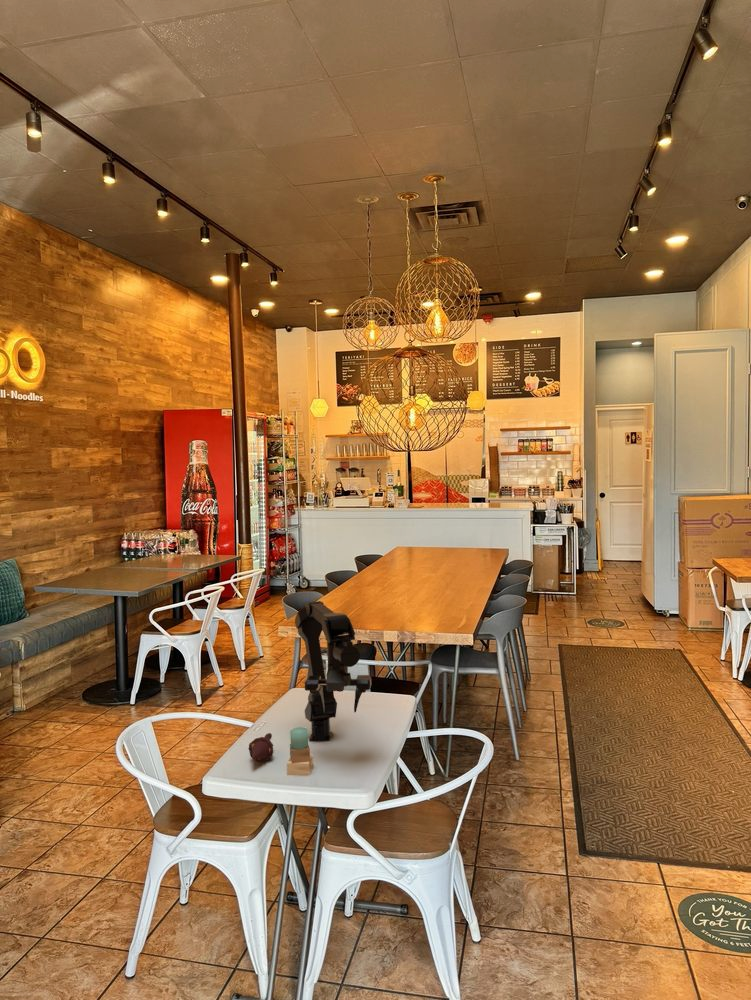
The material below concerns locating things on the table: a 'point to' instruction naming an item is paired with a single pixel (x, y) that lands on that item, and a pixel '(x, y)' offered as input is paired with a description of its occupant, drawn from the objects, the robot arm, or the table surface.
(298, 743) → the sage green cylinder
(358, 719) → the table surface
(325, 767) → the table surface
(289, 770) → the tower base
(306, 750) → the tower top
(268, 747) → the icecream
